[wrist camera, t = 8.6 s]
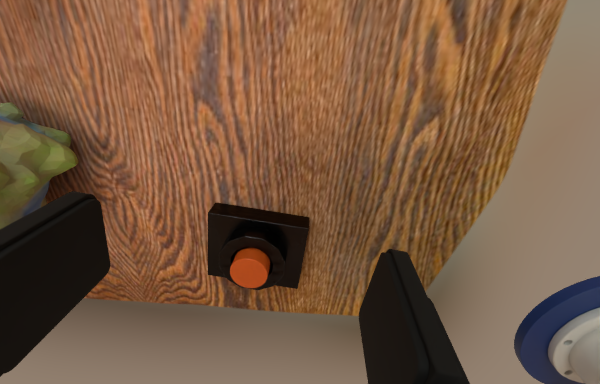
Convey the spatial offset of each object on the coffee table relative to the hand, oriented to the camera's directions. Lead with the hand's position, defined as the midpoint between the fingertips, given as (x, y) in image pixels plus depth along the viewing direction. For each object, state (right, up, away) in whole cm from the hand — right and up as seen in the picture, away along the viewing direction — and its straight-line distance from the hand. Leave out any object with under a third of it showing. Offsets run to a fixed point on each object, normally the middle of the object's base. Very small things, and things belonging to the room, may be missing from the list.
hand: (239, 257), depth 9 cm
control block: (-3, -3, +22) cm, 22 cm away
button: (-3, -5, +19) cm, 19 cm away
